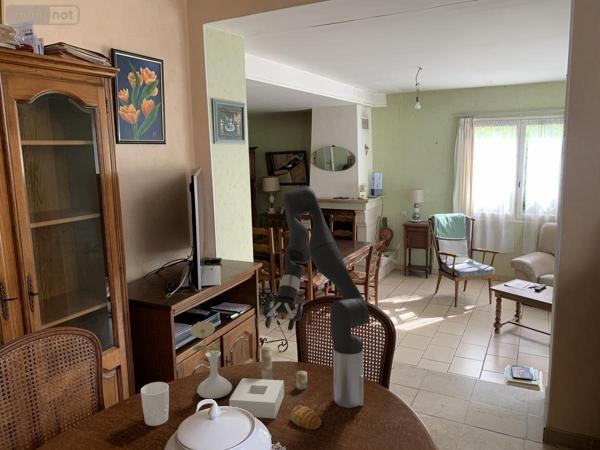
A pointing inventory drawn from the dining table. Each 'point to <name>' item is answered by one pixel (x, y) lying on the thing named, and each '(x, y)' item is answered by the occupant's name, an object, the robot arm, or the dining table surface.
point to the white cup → (155, 403)
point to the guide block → (258, 396)
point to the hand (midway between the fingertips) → (278, 328)
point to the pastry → (305, 417)
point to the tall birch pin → (266, 363)
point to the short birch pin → (301, 380)
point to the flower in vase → (214, 383)
